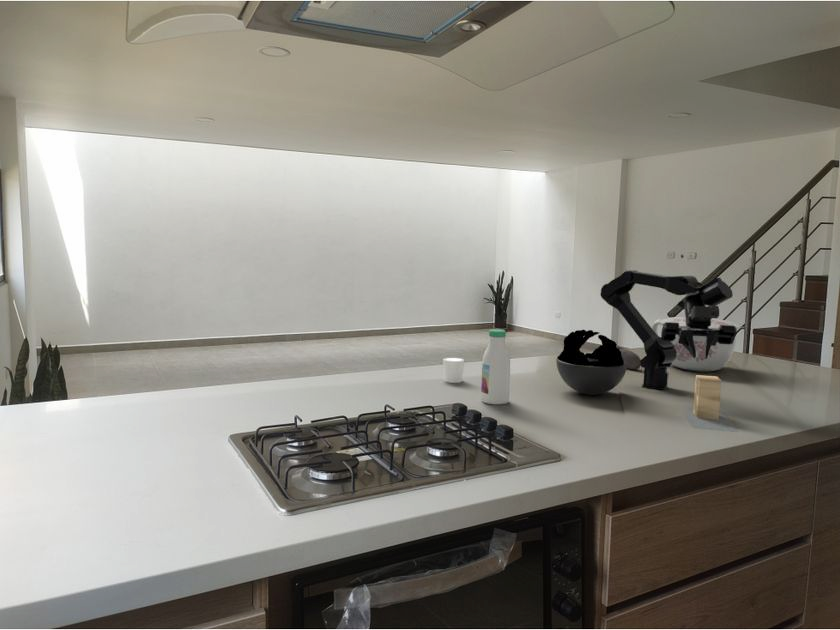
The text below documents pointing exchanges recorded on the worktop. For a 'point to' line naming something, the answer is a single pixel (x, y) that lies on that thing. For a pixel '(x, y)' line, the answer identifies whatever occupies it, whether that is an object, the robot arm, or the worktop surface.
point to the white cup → (453, 369)
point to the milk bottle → (496, 370)
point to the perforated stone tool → (630, 358)
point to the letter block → (707, 397)
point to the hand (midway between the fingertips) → (700, 357)
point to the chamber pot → (700, 348)
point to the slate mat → (710, 422)
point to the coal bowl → (590, 364)
